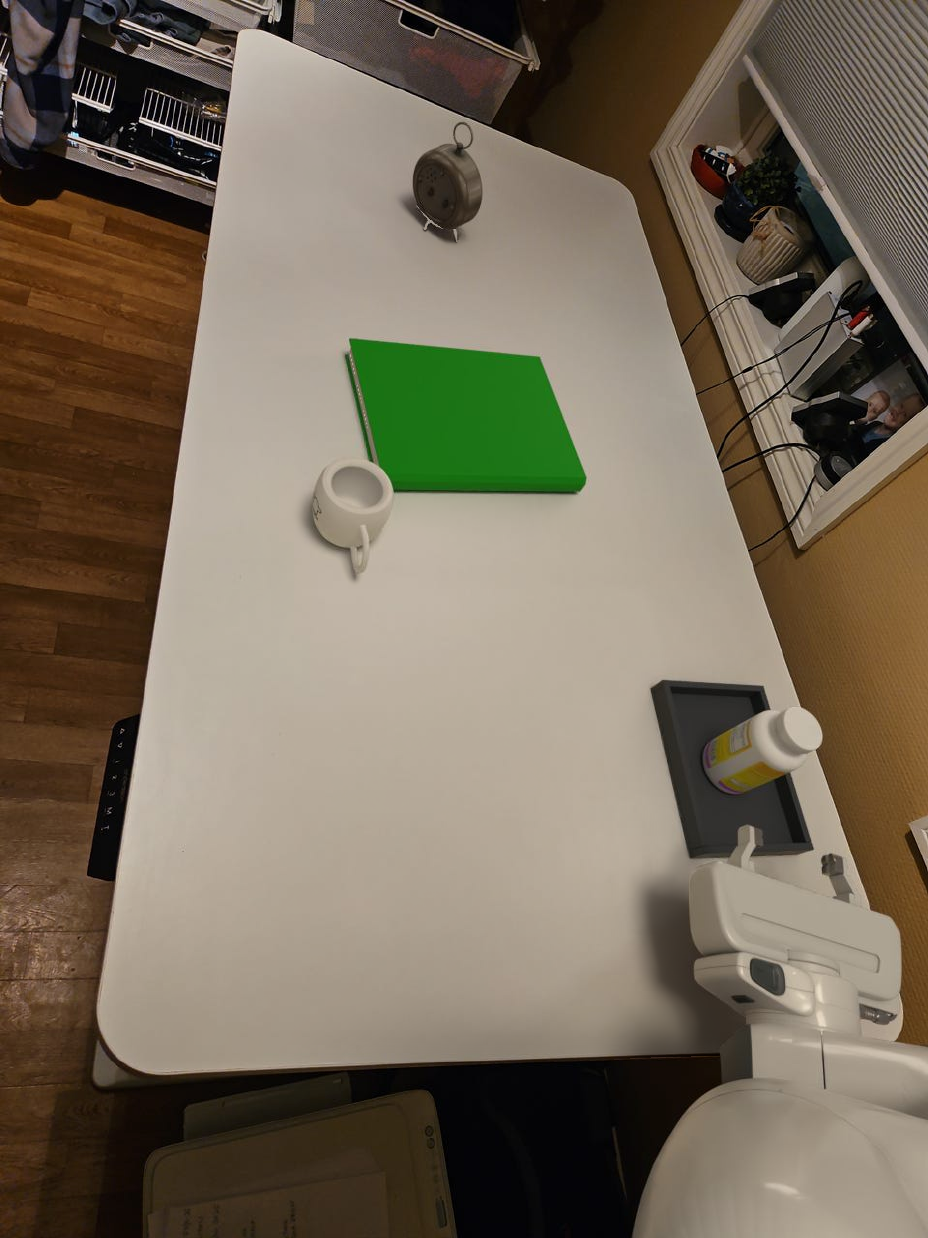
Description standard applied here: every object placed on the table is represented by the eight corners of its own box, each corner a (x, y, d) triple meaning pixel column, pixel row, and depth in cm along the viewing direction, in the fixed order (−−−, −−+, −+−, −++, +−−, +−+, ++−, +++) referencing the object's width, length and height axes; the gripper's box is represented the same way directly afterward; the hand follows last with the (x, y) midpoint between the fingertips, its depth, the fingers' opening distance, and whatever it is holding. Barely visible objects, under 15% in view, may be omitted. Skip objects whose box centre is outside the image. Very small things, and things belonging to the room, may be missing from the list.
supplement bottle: (759, 784, 83) (843, 748, 73) (720, 804, 80) (802, 770, 70) (728, 732, 86) (805, 689, 75) (689, 749, 82) (764, 708, 72)
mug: (300, 496, 82) (311, 451, 76) (372, 496, 85) (388, 452, 79) (318, 587, 77) (331, 547, 71) (393, 583, 81) (412, 544, 74)
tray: (797, 854, 81) (814, 849, 79) (689, 858, 76) (704, 854, 74) (749, 693, 90) (763, 685, 88) (650, 688, 86) (662, 679, 83)
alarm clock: (467, 243, 117) (505, 142, 103) (447, 253, 114) (483, 150, 100) (418, 202, 118) (449, 96, 104) (397, 210, 115) (426, 102, 101)
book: (345, 355, 95) (349, 337, 93) (531, 372, 106) (539, 356, 104) (377, 493, 86) (383, 477, 83) (577, 494, 97) (587, 480, 95)
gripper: (931, 1030, 61) (908, 866, 68) (722, 968, 57) (722, 802, 65) (872, 1031, 66) (857, 878, 73) (676, 974, 62) (681, 819, 70)
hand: (792, 842), depth 69 cm, fingers open, 8 cm apart
